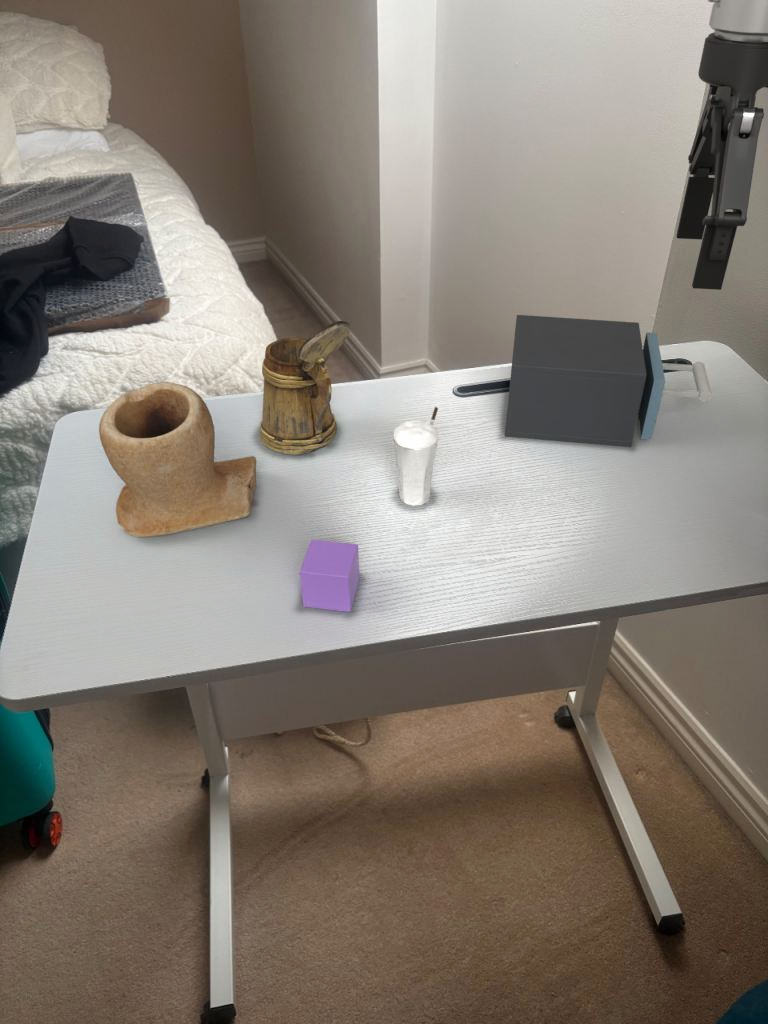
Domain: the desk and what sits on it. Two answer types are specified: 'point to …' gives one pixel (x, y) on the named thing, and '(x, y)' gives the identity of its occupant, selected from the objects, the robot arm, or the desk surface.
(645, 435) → the drawer
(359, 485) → the desk surface
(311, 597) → the cube
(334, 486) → the desk surface
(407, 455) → the milkshake
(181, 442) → the stone cup
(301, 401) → the wooden mug
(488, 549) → the desk surface
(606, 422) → the cabinet
